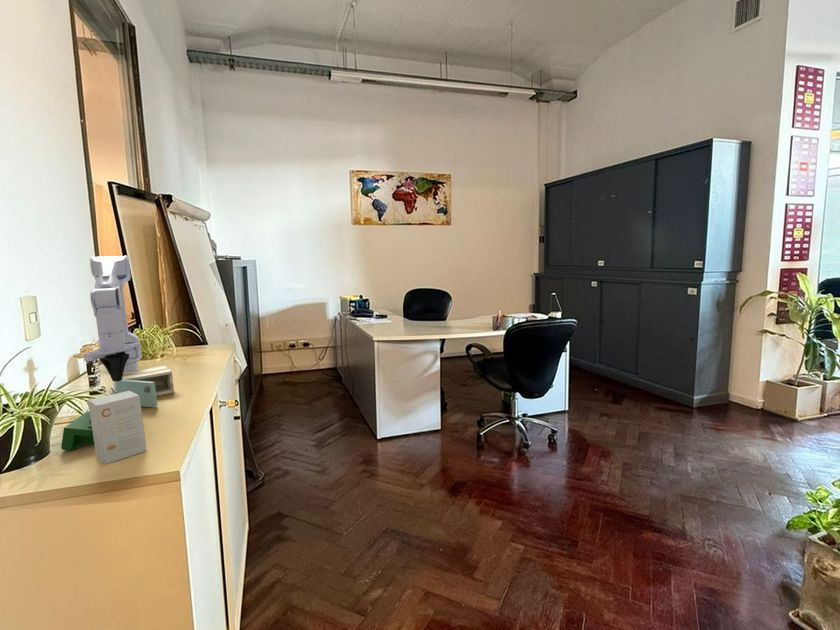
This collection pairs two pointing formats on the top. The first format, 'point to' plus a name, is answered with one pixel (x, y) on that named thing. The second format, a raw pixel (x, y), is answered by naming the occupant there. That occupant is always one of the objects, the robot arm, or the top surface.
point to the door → (140, 391)
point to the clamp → (78, 433)
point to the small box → (117, 426)
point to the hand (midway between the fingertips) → (117, 380)
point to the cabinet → (153, 378)
